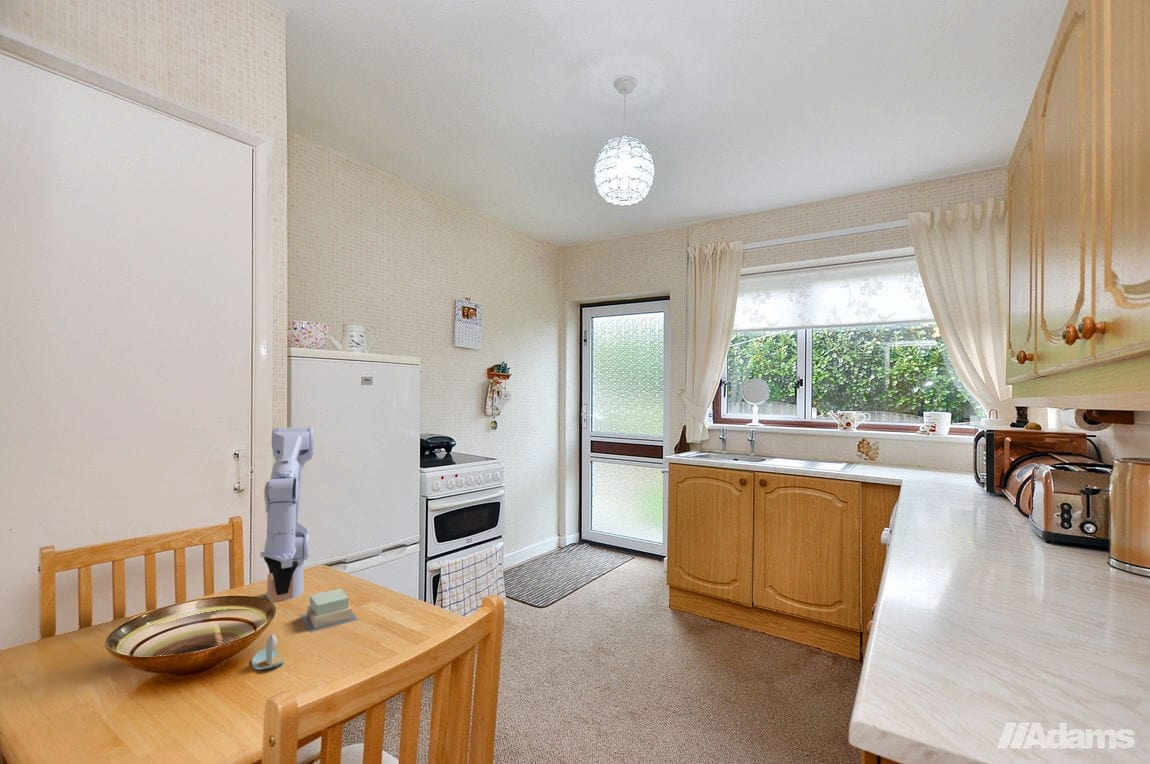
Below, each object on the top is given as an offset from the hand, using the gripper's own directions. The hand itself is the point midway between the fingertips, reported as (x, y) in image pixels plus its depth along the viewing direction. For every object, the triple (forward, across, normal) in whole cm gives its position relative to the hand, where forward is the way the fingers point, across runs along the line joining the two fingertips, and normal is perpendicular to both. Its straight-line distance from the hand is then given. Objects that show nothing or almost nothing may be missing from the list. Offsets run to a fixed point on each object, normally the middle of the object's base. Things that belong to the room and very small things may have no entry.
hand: (280, 590), depth 117 cm
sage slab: (+4, +6, +9) cm, 12 cm away
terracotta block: (+2, 0, 0) cm, 2 cm away
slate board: (+8, +6, +9) cm, 13 cm away
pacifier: (+8, +19, -6) cm, 22 cm away
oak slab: (+6, +6, +9) cm, 13 cm away
